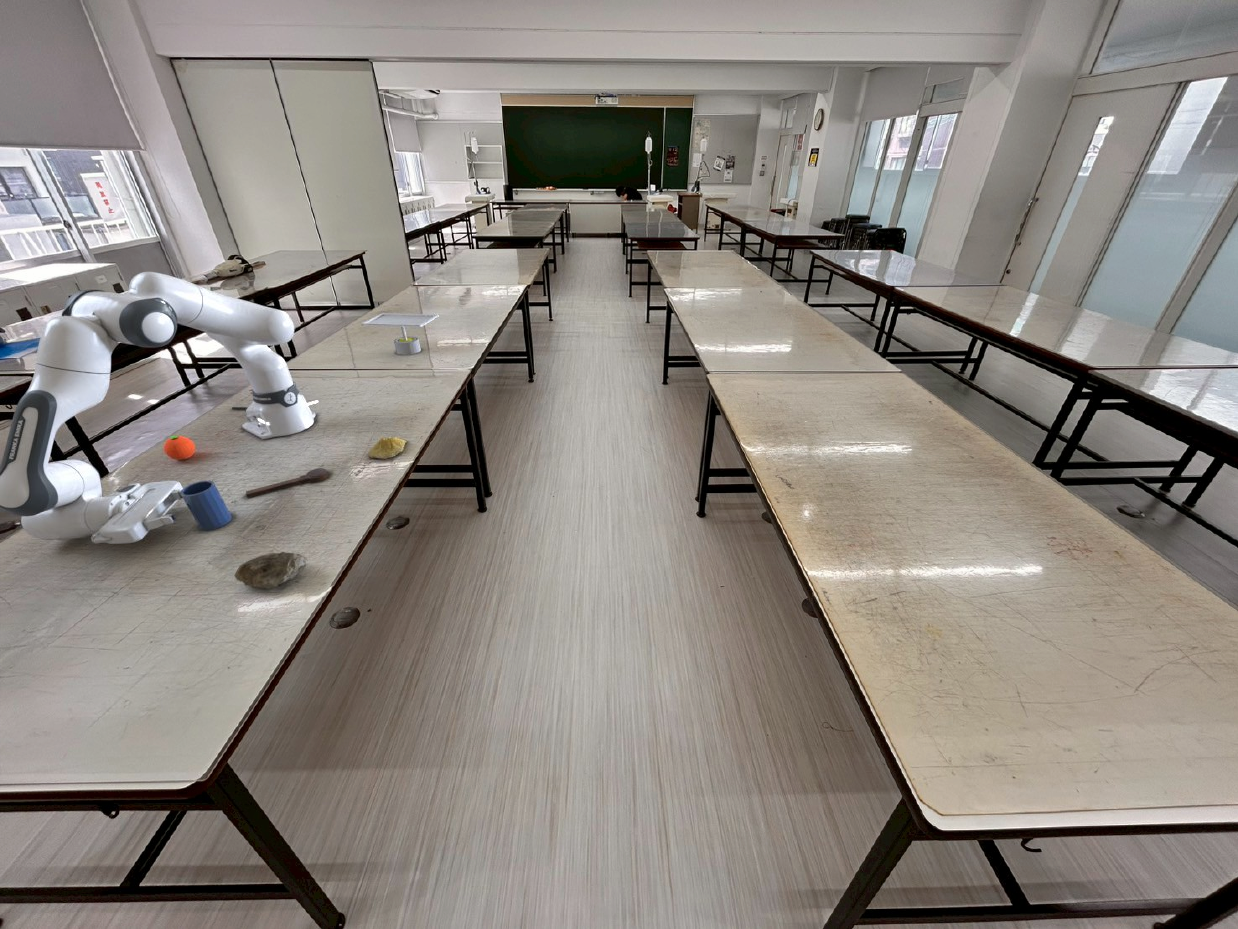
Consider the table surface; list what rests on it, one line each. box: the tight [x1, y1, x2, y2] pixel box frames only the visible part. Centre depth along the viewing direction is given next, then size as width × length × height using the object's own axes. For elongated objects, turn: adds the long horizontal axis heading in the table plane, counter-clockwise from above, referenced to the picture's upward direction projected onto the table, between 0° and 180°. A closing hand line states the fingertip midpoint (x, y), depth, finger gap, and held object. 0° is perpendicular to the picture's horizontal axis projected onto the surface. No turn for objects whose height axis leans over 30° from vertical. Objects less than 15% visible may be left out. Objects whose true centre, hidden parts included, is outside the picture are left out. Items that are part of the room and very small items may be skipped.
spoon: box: [245, 467, 329, 498], centre depth 134 cm, size 19×5×2 cm, turn 122°
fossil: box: [368, 436, 407, 460], centre depth 148 cm, size 11×6×10 cm
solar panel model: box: [360, 312, 440, 356], centre depth 224 cm, size 28×17×15 cm, turn 82°
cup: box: [180, 480, 233, 531], centre depth 118 cm, size 6×6×10 cm
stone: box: [233, 551, 309, 590], centre depth 102 cm, size 13×8×8 cm
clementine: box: [163, 435, 196, 461], centre depth 145 cm, size 8×7×7 cm
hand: (183, 506), depth 117 cm, fingers open, 8 cm apart
